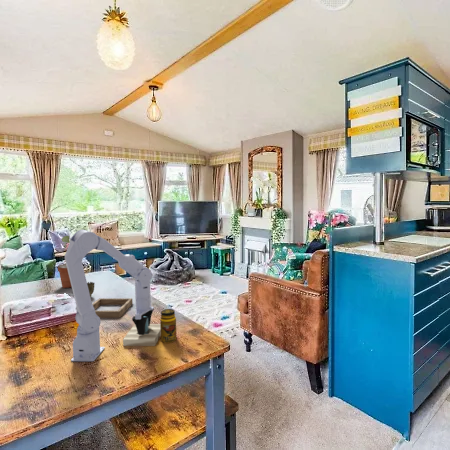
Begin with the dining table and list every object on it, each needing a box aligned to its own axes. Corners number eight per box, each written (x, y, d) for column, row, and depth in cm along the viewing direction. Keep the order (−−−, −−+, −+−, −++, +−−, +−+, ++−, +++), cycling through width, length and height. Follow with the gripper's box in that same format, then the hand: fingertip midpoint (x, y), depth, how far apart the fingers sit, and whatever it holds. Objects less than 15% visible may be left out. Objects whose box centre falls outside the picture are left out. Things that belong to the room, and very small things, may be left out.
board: (154, 345, 116) (154, 339, 115) (123, 345, 116) (122, 339, 116) (163, 329, 129) (163, 324, 129) (135, 329, 130) (134, 324, 130)
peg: (147, 339, 121) (146, 319, 120) (138, 339, 121) (137, 319, 120) (150, 335, 124) (149, 316, 124) (141, 335, 125) (140, 316, 124)
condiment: (169, 346, 116) (168, 315, 115) (152, 341, 120) (151, 311, 119) (181, 338, 122) (180, 309, 121) (165, 334, 127) (164, 305, 125)
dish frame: (119, 317, 143) (119, 311, 143) (82, 317, 143) (82, 311, 143) (132, 304, 161) (132, 298, 161) (99, 304, 162) (99, 298, 161)
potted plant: (84, 287, 192) (82, 231, 189) (57, 290, 186) (53, 232, 183) (86, 281, 206) (83, 229, 203) (60, 283, 201) (57, 230, 197)
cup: (89, 299, 168) (89, 285, 168) (77, 299, 170) (77, 284, 169) (97, 295, 176) (97, 281, 175) (86, 294, 177) (85, 281, 176)
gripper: (148, 302, 114) (149, 338, 115) (157, 291, 128) (158, 322, 130) (129, 302, 114) (130, 338, 115) (140, 291, 128) (141, 322, 130)
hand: (144, 330), depth 122 cm, fingers open, 7 cm apart
